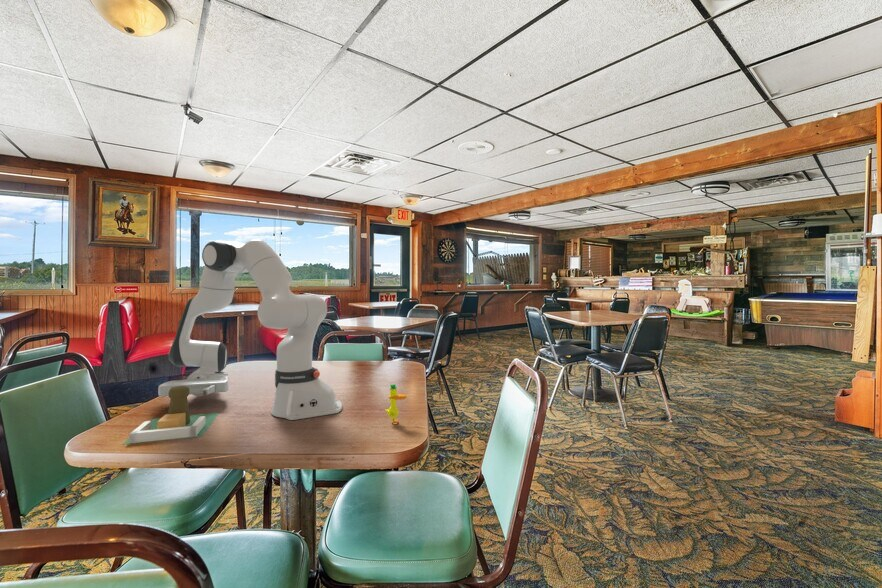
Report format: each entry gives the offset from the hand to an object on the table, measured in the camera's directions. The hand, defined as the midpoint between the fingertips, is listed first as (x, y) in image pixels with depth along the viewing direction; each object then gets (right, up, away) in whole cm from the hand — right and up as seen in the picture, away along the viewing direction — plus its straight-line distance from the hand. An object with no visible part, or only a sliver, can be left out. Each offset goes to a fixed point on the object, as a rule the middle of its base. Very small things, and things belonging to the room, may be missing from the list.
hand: (188, 393), depth 120 cm
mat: (+4, -7, -11) cm, 14 cm away
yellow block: (+5, -7, -14) cm, 17 cm away
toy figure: (+68, -8, -6) cm, 68 cm away
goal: (+6, -7, -16) cm, 18 cm away
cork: (+3, -7, -9) cm, 11 cm away
